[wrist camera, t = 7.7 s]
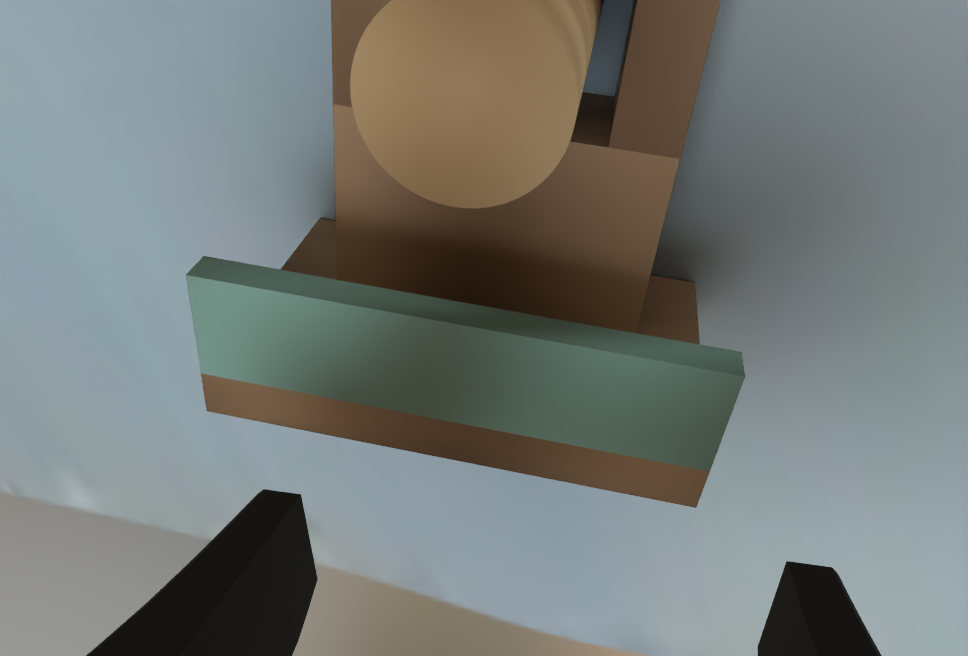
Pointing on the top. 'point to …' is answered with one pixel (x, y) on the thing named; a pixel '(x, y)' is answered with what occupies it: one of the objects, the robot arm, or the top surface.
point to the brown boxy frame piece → (494, 299)
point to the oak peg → (472, 93)
